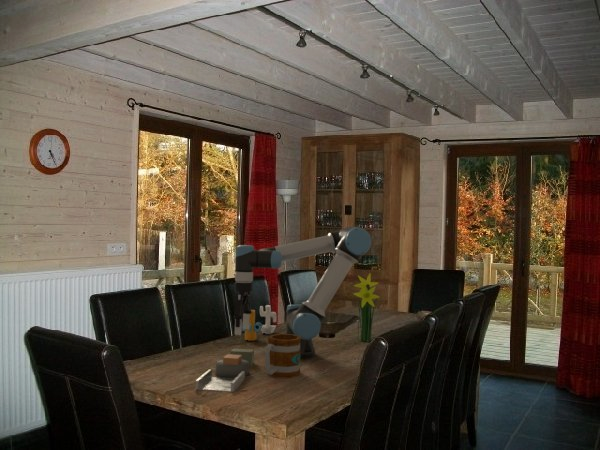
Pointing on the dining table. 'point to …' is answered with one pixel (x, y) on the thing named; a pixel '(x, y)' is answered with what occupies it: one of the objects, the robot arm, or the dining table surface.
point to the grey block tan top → (231, 366)
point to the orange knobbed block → (252, 328)
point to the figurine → (267, 319)
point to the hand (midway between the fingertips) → (242, 331)
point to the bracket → (218, 382)
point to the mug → (283, 355)
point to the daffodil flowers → (366, 306)
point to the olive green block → (245, 354)
